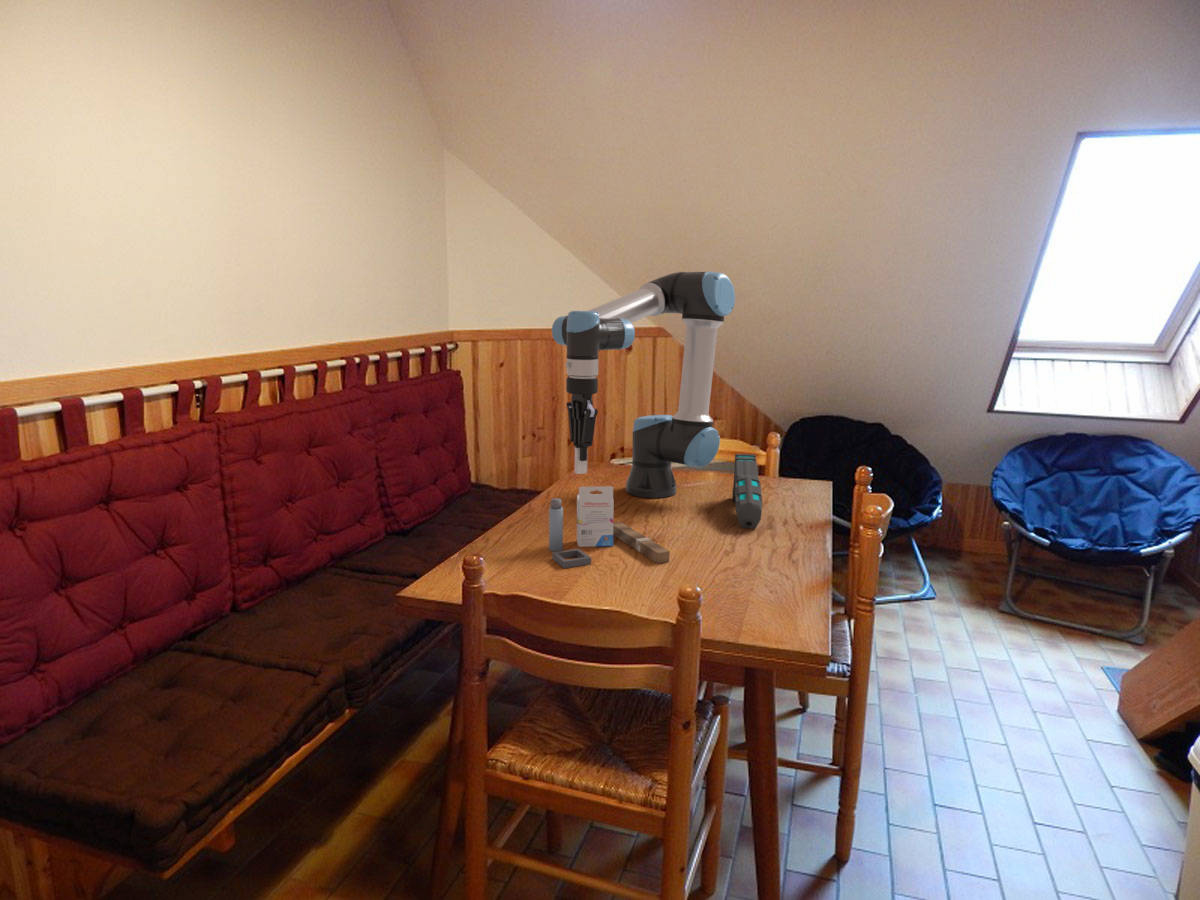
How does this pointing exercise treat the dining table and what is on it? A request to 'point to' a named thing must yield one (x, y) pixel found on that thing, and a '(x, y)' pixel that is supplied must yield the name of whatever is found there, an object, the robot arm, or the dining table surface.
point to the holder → (581, 560)
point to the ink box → (595, 517)
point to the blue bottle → (555, 525)
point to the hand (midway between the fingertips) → (580, 472)
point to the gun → (747, 491)
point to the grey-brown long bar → (640, 543)
